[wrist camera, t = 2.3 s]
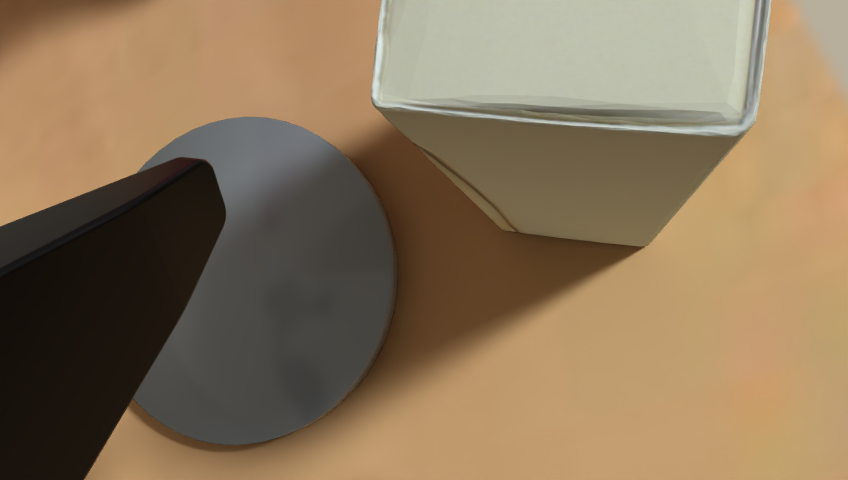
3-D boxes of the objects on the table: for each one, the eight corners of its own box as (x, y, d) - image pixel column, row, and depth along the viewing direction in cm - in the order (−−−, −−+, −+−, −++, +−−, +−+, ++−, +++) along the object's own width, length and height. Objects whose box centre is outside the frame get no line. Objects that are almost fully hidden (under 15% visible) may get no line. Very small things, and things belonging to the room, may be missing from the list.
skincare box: (526, 31, 20) (422, -381, 8) (684, 35, 19) (819, -437, 7) (498, 240, 20) (346, 108, 8) (660, 258, 18) (763, 134, 7)
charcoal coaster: (310, 502, 20) (298, 509, 19) (65, 351, 23) (46, 351, 22) (452, 194, 20) (446, 189, 19) (190, 81, 23) (176, 73, 22)
